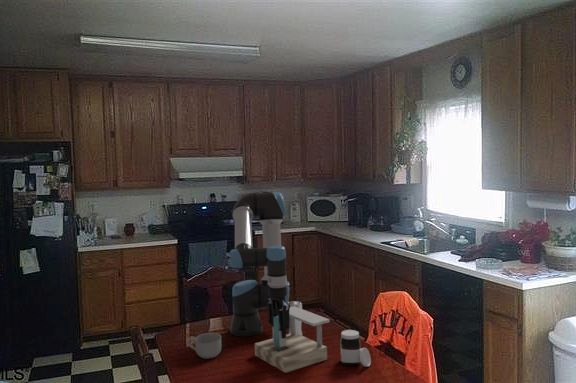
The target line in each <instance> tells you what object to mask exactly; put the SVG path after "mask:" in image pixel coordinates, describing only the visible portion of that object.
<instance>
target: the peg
mask: <svg viewBox="0 0 576 383" xmlns="http://www.w3.org/2000/svg"><path fill="white" fill-rule="evenodd" d="M273 319H274V344H275V348H277V349H281V348H284V347H285V346H282V347H280V346H279V329H280V324H279V318H278V315H277V316H274V317H273Z"/></svg>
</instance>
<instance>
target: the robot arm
mask: <svg viewBox="0 0 576 383" xmlns="http://www.w3.org/2000/svg"><path fill="white" fill-rule="evenodd" d="M286 216H287V211H286V205H285V200H284V196H283V194H282V193H281V192H273V191H271V192H256V193H255V192H253V193H252V192H251V193H247V194H245V195H243V196H242V197H240V198H239V199H238V200H237V201H236V203H235V204H234V207H233V209H232V219H233V221H234V249H231V250H230V251H229V263H230V264H229V265H230V267H231V268H234V269H235V268H237V269H238V268H239V269H244V268H245V269H246V268H258V267H261V268H262V267H263V270H264V273H263V274H264V275H263V277H262V278H261V283H258V281H257V280H255V279H247V280H242V281H238V282H236V283H235V284H233V286H232V294H231V296H232V313H233V314H232V319H231V323H230V326H229V331H230V334H231V335H233V336H236V337H253V336H256V335H260V333H262V332H263V331H264V330H263V323H262V320H261V317H260V315H259V309H267V314H268V315H267V321H268V324H270V326H271V331H272V338H273V343H274V319H273V317H274V316H277V315H278V318H279V324H280V329H279V346H280V347H282V346H285V345H286V335H287V330H289V328H290V323H289V309H290V305H289V304H288V305H287V303H288V302H289V299H290V282H289V281H288V278H287V253H286V246H283V245H282V234H281V233H282V232H281V223H282V222H283V221H284V217H286ZM253 218H258V222H259V223H260V224H261V226H262V227H261V228H262V247H258V248H257V247H256V248H254V247H253V245H254V244H253V225H252V221H253Z"/></svg>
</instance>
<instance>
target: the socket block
mask: <svg viewBox="0 0 576 383" xmlns="http://www.w3.org/2000/svg"><path fill="white" fill-rule="evenodd" d="M254 356H255V357H256V358H259V359H261V360H262V361H265V363H267V364H269V365H271V366H273V367H274V368H276V369H278V370H280V371H281V372H284V373H290V372H292V371H296V370H298V369H301V368H305V367H308V366H311V365H314V364H317V363H320V362H323V361H326V360H328V346H326V345H323V344H322V347H320V348H319V347H317V341H315V340H313V339H310V338H308V337H306V336H303V335H302V336H301V335H299V334H297V333H296V335H294V336H293V335H291V334H289V333H288V334H287V333H286V345H285V347H284V348H281V349H277V348H275V344H274V343H273V337H272V338H270V339H265V340H262V341H259V342H255V343H254Z"/></svg>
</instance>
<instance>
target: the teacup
mask: <svg viewBox="0 0 576 383" xmlns="http://www.w3.org/2000/svg"><path fill="white" fill-rule="evenodd" d="M191 341H193V342H194V344H195V345H193V344H192V343H191ZM187 344H188V346H189V348H190V349H192V350H194V352H196V354H197V356H199V358H202V359H203V360H209V359H210V358H211V359H215V358H216V357H217V356H218V355H219V354H220V353H221V351H222V335H221V334H220V333H217V332H204V333H201V334H198V335H196V337H193V336H192V337H189V339H188V340H187Z"/></svg>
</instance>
